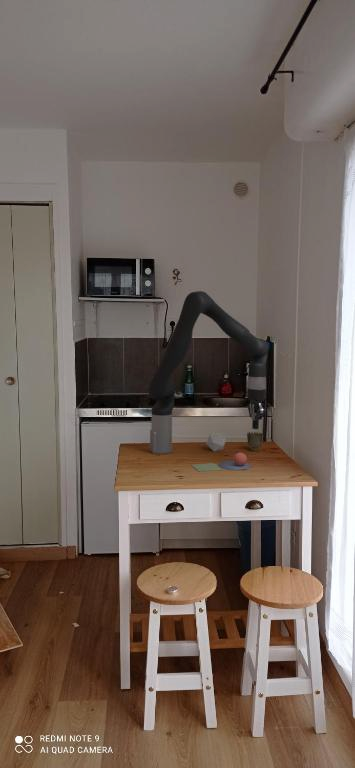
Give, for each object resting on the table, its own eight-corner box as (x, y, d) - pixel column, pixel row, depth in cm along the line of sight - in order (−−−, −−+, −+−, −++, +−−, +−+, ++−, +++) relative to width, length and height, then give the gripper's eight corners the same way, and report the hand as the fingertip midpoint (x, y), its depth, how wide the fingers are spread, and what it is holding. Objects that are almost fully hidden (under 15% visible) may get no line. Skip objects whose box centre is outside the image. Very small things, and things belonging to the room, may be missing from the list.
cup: (262, 452, 261) (262, 435, 260) (245, 451, 263) (246, 434, 262) (263, 449, 268) (263, 432, 267) (247, 448, 270) (247, 431, 269)
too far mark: (198, 471, 230) (198, 471, 230) (191, 465, 239) (191, 464, 239) (222, 469, 232) (222, 469, 232) (214, 463, 242) (214, 463, 242)
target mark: (225, 470, 231) (225, 470, 231) (213, 462, 243) (213, 462, 243) (255, 468, 235) (255, 468, 235) (242, 460, 247) (242, 460, 247)
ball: (249, 452, 238) (249, 466, 237) (241, 451, 243) (242, 465, 242) (238, 453, 235) (238, 466, 235) (230, 452, 240) (231, 465, 240)
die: (218, 448, 271) (206, 432, 270) (232, 441, 267) (220, 425, 265) (212, 458, 265) (199, 441, 263) (226, 451, 260) (214, 435, 258)
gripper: (241, 385, 243) (240, 426, 245) (254, 389, 230) (253, 432, 232) (258, 385, 245) (257, 425, 247) (272, 389, 232) (270, 431, 235)
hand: (255, 428), depth 240 cm, fingers closed
